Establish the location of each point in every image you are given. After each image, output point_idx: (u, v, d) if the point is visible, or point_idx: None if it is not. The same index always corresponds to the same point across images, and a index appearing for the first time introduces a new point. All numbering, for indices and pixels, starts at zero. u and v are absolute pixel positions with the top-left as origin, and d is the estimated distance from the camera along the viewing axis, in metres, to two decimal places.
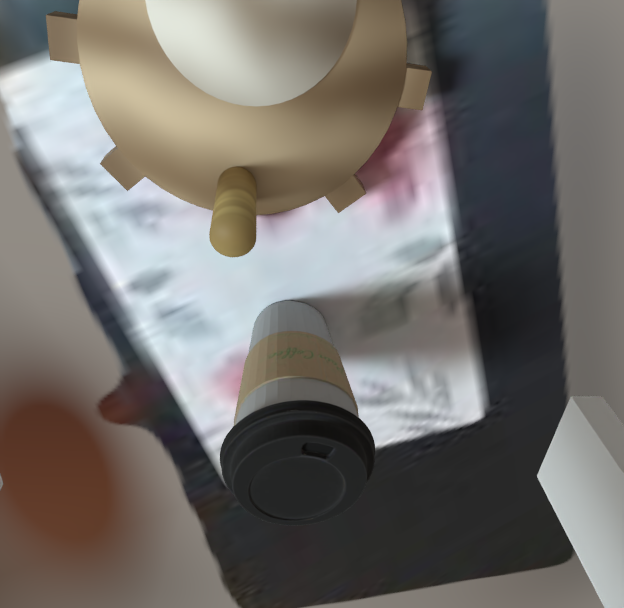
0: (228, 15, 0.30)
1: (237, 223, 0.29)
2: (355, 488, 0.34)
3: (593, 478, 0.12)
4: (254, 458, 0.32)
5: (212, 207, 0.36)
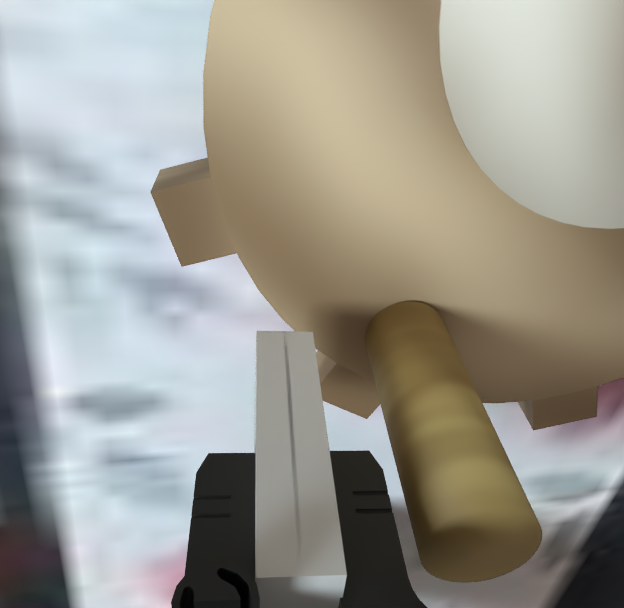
0: (622, 10, 0.12)
1: (514, 527, 0.11)
2: None
3: None
4: None
5: (333, 354, 0.17)
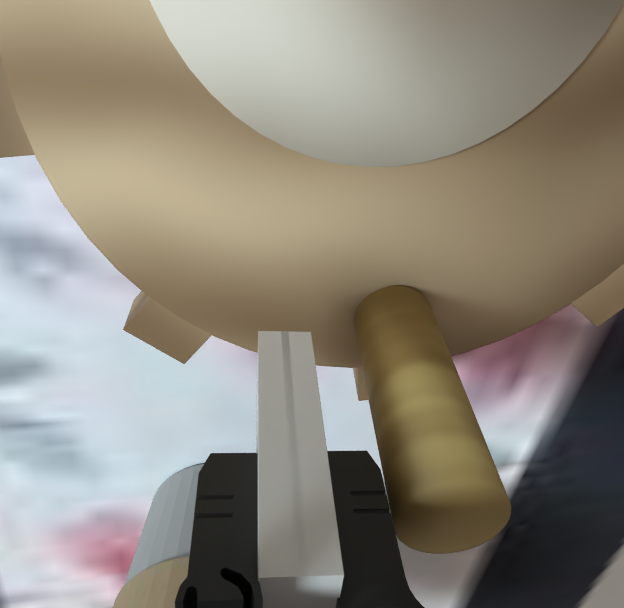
0: None
1: (465, 494, 0.11)
2: None
3: None
4: None
5: (347, 362, 0.18)
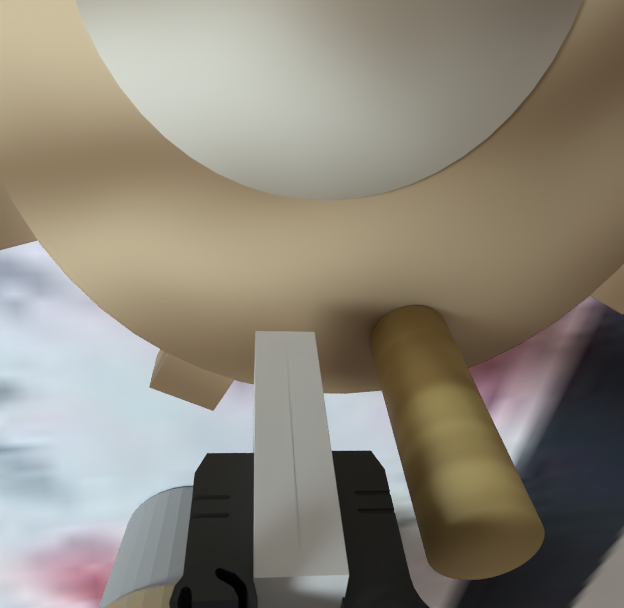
0: (294, 13, 0.12)
1: (493, 521, 0.11)
2: None
3: None
4: None
5: (372, 386, 0.18)
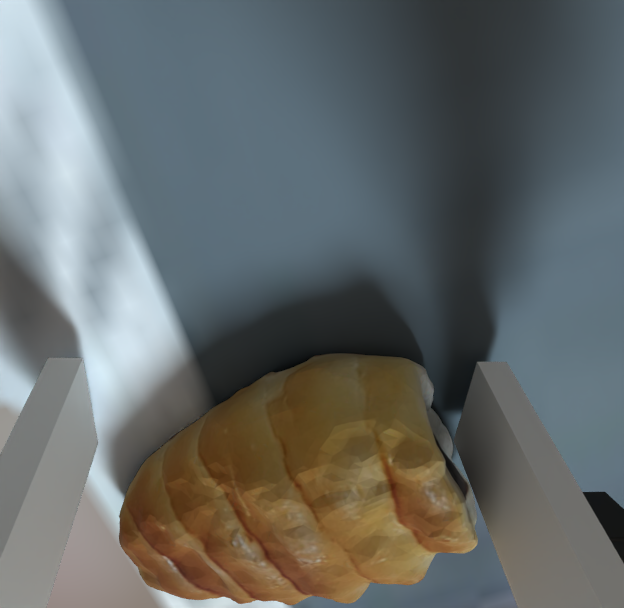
0: None
1: None
2: None
3: (491, 436, 0.13)
4: None
5: None
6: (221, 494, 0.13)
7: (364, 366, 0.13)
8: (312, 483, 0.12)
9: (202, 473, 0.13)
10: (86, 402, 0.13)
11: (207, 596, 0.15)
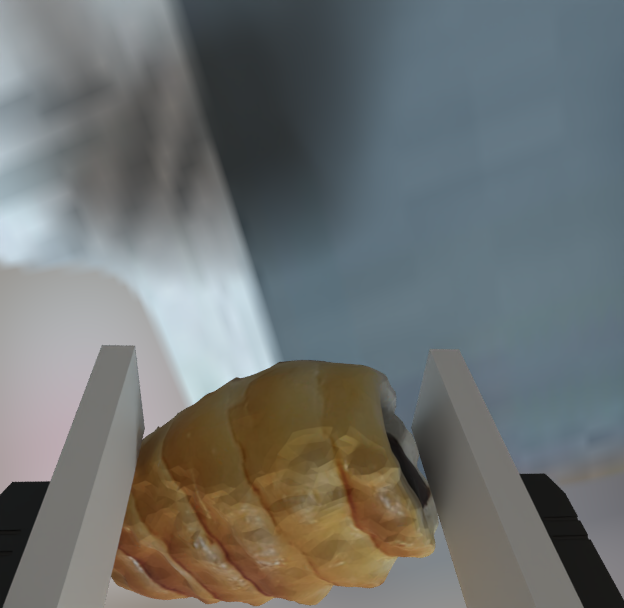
0: None
1: None
2: None
3: (440, 421, 0.13)
4: None
5: None
6: (183, 496, 0.13)
7: (324, 374, 0.13)
8: (270, 487, 0.12)
9: (165, 476, 0.13)
10: (137, 388, 0.14)
11: (174, 596, 0.15)
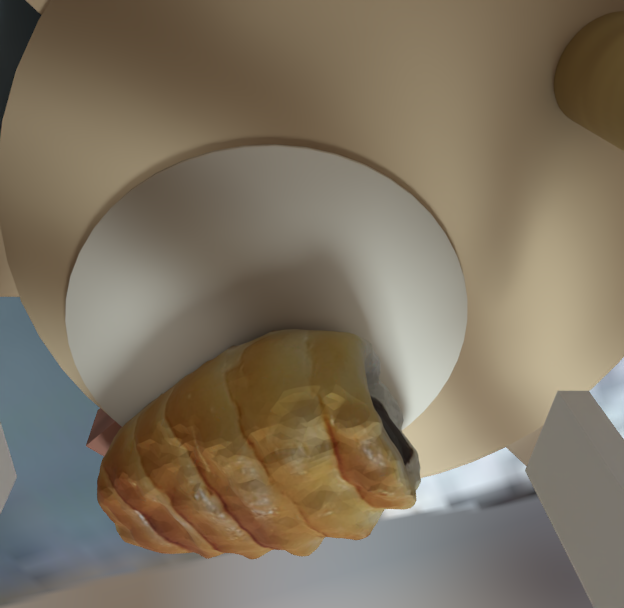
0: None
1: None
2: None
3: (578, 471, 0.12)
4: None
5: None
6: (185, 452, 0.14)
7: (312, 339, 0.14)
8: (263, 441, 0.14)
9: (168, 433, 0.14)
10: None
11: (176, 550, 0.16)
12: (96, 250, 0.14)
